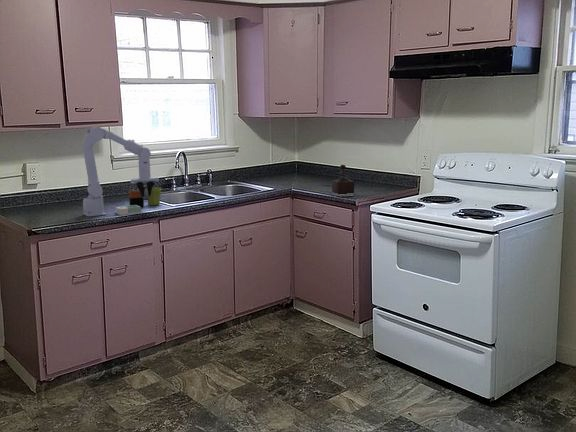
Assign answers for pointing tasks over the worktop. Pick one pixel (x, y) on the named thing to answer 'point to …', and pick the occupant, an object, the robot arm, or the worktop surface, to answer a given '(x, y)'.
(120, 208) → the charger
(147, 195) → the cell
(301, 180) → the worktop surface
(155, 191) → the plant pot
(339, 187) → the brown bottle
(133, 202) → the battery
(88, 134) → the robot arm
